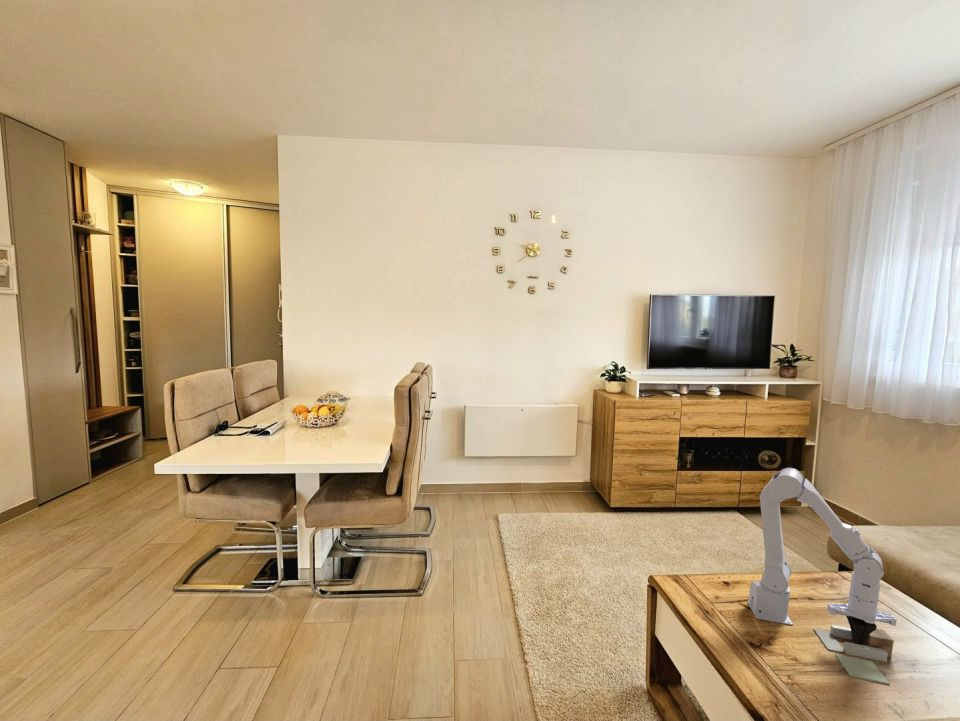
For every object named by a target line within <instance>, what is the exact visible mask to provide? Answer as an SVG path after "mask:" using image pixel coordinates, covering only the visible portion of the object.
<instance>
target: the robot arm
mask: <svg viewBox="0 0 960 721" xmlns="http://www.w3.org/2000/svg"><path fill="white" fill-rule="evenodd" d="M793 498H796V501H797V502H800V503H803V504H806V505H809V506H810V508H811V509H812V510H813V511H814V512H815V513H816V515H818V517H819V518H820V519H821V520H822V521H823V522H824V523H825V524H826V525H827V527H829V529H830V531H829V536H830V537H831V539H833V540H832V541H834V542H835V543H836V545H837V546H838V547H839V548H840V549H841V550H842V551H843V553H844V555H845V556H847V558H848V559H850V560H851V561H852V562H853V563H852V564H853V565H852V566H853V573H852V574H851V578H850V586H849V592H848V601H847V603H830V602H829V603H827V611H828V612H829V614H830V615H834V616H835V615H840V616H845V617H846V618H847V622H848V624H849V628H851V632H852V640H851V641H853V643H854V644H859V645H863V643H864V641H865V639H866V638H867V637H868V635H869V634H870V633H872V632H873V631H875V630H876V629H878V628H877V627H878V626H877V624H876V623H875V622H877V623H878V622H879V623H885V624H889V625H890V626H894V627H896V626H897V618H896V617H895V616H894V615H893V614H891V613H886V612H883V611H880V610H877V609H878V604H879V598H880V591H881V590H880V589H881V583H880V582H881V580H882V578H883V576H884V575H885V572H884V567H883V560H882V557H881V556H880V555H879V553H878V551H876V550H875V549H874V548H873V547H872V546H871V547H870V546H869V545H868V544H867V542H866V541H865V540H864V539H863V538H862V537H861V532H860V530H859V529H858V528H855V529H854V527H853V526H852V525H850V524H847V523H845V522H842V521H841V519H840V518H839V517H838V516H837V514H836V513H835V512H834V510H832V508H831V506H829V504H828V503H827V501H825V499H824V497H823V496H822V495H821V494H820V493H819V491H818V490H817V489H816V487H814V485H813V484H812V483H811V482H810V480H808V479H807V478H805V477H804V475H803V474H802V473H801V472H800V471H799V470H798V469H796V468H793V467H786V468H782V469H781V470H779V471H777V472H776V473H774V474H773V476H772V477H771V479H770V480H769V481H768V483H767V484H765V486H764V487H763V489H762V490H761V492H760V495H759V501H760V502H759V503H760V512H761V513H760V515H761V525H762V532H763V534H762V535H763V545H764V555H765V556H764V570H763V573H762V575H761V579H760V580H757V581H751V582H750V584H749V594H748V600H747V605H748V606H749V608H750V610H751V612H752V614H753V615H754V617H755V619H757V620H763V621H768V622H773V623H778V624H784V625H788V626H793V625H794V623H793V622H792V620H791V618H790V617H789V614H788V613H789V604H790V594H791V587H790V586H789V581H790V577H791V574H792V570H791V566H790V565H789V564H788V562H787V557H786V556H787V555H786V554H785V548H784V536H783V535H784V534H783V527H782V526H783V525H782V516H781V506H780V504H781V503H782V502H784V501H785V500H790V499H793Z"/></svg>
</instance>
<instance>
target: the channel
mask: <svg viewBox="0 0 960 721" xmlns="http://www.w3.org/2000/svg"><path fill="white" fill-rule="evenodd" d="M813 631H814V632H815V634H816V635H817V637H818V638H819V639H820V641H821V642H822V644H823V645H824V647H825V648H826V650H827V651H830V652H836V653H840V654H846V655H850V656H855V657H861V658H865V659H869V660H870V659H871V660H874V661H875V660H876V661H879V662H885V663H887V662H888V657H887V656H888V653H887V651H886V650H884V649H879V648H874V647H869V646H864V645H859V644H855V642H853V643H852V642H848V641H844V642H843V647H842V646H841V645H840V643H839V641H838V640H837V639H836V638H841V639H847V640H851V641H853V640H852V632H851V628H850V627H846V626H841V625H835V624H831V625H830V631H826V630H823V629H816V628H813ZM835 637H836V638H835Z"/></svg>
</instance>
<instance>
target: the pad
mask: <svg viewBox="0 0 960 721" xmlns="http://www.w3.org/2000/svg"><path fill="white" fill-rule="evenodd" d="M834 656H835V657H836V658H837V660H838V661H839V663H840V664H841V666H842V667H843V669H845V671H846V672H847V674H848V675H849V677H851V678H857V679H861V680H864V681H865V680H866V681H869V682H875V683H879V684H880V683H881V684H885V685H887V686H890V682H889V680H888V679H887V678H886V677H885V676H884V675H883V673H882V672H881V671H880V669H879V668H878V666H876V665H875V663H874V662H873V660H867V659H863V658H858V657H852V656H847V655H844V654H843V655H842V654H838V653H835V655H834Z"/></svg>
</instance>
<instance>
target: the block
mask: <svg viewBox="0 0 960 721" xmlns="http://www.w3.org/2000/svg"><path fill="white" fill-rule="evenodd" d="M894 642H895V640H894V639H893V638H892V636H890V634H888V632H887V631H885V629H881V628H876V630H875V631H873V632H872V633H870V634H869V635H868V637H867V638H866V639H865V641H864V643H863V645H864V646H869V647H874V648H879V649H884V650H886V651H887V653H888V656H887V659H888V658H889V659H892V656H893V648H894Z"/></svg>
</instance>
